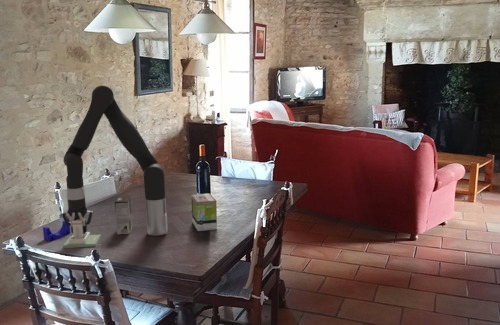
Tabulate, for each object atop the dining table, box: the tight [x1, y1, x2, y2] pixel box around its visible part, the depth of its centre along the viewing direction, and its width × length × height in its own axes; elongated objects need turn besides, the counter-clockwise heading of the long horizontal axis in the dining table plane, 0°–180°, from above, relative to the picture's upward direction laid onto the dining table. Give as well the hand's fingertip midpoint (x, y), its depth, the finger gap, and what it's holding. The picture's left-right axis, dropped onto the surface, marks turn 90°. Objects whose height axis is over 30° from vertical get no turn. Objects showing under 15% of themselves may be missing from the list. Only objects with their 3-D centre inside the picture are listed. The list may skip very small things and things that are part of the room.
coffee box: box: [114, 196, 133, 235], centre depth 235 cm, size 9×6×16 cm
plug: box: [72, 219, 86, 239], centre depth 221 cm, size 4×6×9 cm
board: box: [62, 231, 102, 249], centre depth 222 cm, size 14×12×3 cm
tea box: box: [190, 192, 218, 232], centre depth 241 cm, size 15×10×15 cm, turn 17°
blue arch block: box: [42, 220, 71, 242], centre depth 230 cm, size 12×4×6 cm, turn 145°
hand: (79, 233), depth 221 cm, fingers closed on plug, 4 cm apart
